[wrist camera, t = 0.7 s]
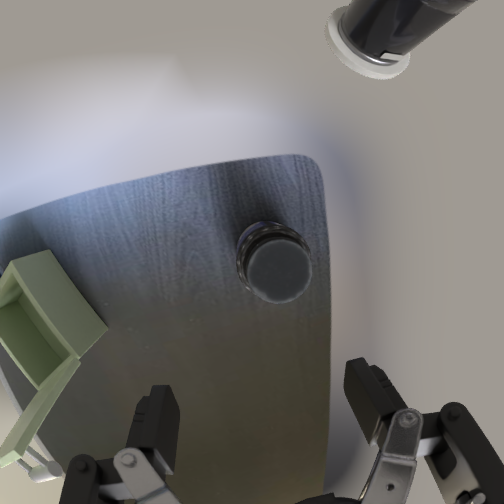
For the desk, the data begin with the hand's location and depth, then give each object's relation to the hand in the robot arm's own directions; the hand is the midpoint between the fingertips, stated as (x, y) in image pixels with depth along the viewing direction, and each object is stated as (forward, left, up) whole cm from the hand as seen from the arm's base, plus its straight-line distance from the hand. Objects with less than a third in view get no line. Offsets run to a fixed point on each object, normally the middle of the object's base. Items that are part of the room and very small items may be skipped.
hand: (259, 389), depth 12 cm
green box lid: (+13, -20, -5) cm, 24 cm away
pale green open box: (+8, -25, -20) cm, 33 cm away
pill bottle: (-4, +2, -20) cm, 20 cm away
